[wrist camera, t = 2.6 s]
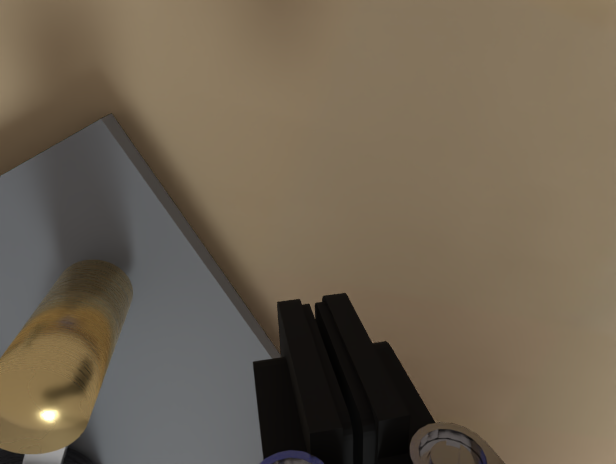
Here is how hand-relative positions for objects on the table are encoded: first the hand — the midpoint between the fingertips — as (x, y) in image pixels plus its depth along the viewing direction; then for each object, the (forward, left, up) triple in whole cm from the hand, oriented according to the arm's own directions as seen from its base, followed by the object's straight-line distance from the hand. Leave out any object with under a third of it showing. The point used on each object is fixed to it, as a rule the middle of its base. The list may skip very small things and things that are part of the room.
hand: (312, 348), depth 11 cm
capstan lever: (-1, +10, -6) cm, 12 cm away
